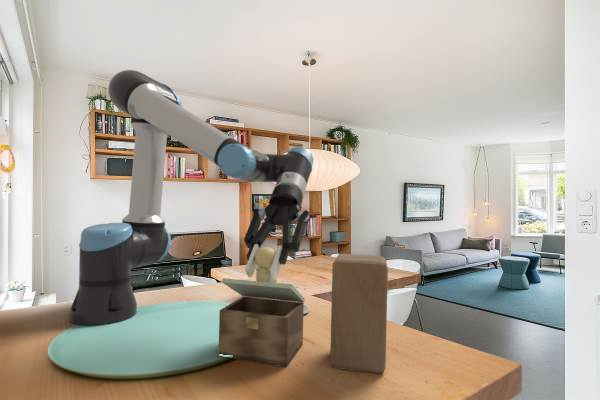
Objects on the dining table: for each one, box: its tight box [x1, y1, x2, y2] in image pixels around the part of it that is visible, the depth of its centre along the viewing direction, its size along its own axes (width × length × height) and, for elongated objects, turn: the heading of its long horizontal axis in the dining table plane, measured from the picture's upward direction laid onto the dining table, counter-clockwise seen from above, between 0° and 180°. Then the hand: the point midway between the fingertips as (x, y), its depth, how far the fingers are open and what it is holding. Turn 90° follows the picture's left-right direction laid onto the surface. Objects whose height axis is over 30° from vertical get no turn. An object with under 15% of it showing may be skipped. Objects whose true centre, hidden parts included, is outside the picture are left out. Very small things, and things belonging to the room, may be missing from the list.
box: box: [218, 296, 305, 368], centre depth 73 cm, size 14×11×9 cm
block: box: [329, 253, 389, 374], centre depth 70 cm, size 10×10×20 cm
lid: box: [221, 246, 306, 303], centre depth 76 cm, size 14×11×9 cm
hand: (260, 274), depth 71 cm, fingers closed on lid, 5 cm apart
